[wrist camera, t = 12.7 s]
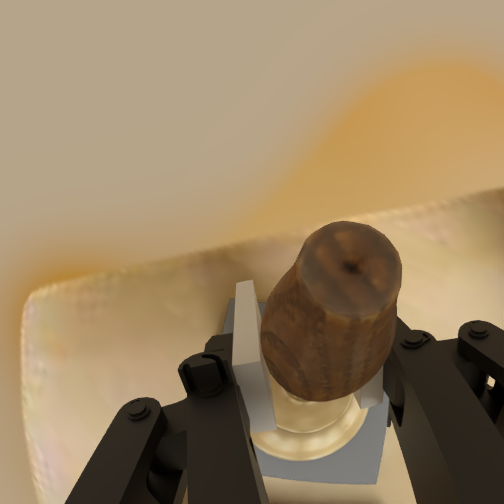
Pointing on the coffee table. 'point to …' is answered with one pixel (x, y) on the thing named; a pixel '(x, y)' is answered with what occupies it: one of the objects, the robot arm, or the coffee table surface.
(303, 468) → the grey rubber pad
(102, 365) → the coffee table surface
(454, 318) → the coffee table surface
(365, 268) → the hand bell
